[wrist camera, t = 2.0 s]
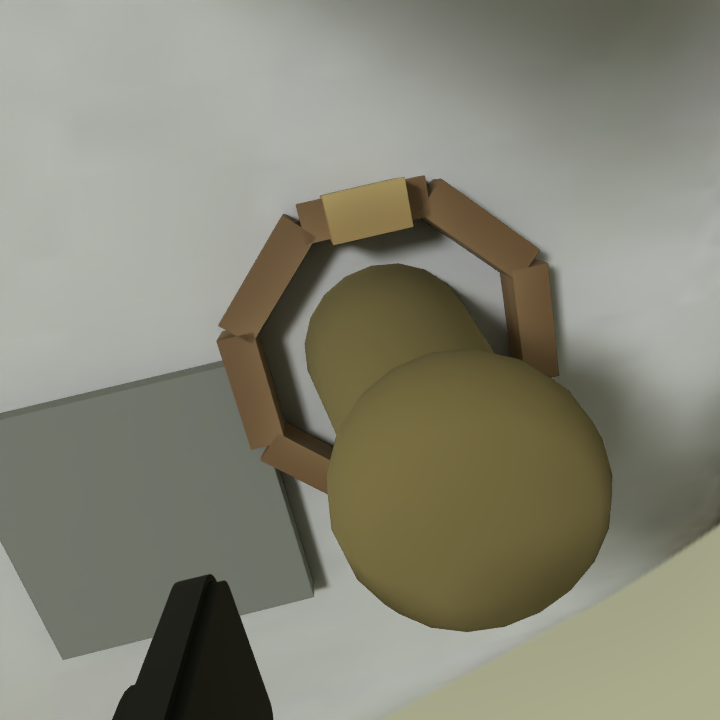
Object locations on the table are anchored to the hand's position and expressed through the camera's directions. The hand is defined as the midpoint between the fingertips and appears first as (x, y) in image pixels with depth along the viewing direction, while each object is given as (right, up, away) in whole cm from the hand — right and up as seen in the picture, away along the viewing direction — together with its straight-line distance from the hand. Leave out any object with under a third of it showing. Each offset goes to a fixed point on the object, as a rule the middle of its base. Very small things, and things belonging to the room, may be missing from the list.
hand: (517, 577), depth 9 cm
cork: (-2, +4, +10) cm, 11 cm away
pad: (-10, -2, +11) cm, 15 cm away
